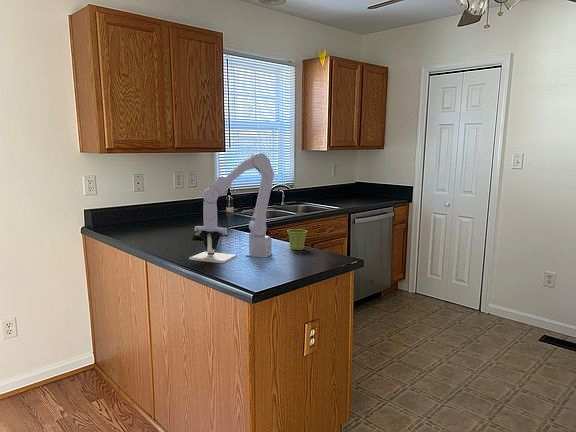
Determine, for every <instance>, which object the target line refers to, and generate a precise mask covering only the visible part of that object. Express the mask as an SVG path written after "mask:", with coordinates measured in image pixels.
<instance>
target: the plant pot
mask: <svg viewBox="0 0 576 432" xmlns="http://www.w3.org/2000/svg"><path fill="white" fill-rule="evenodd" d="M286 232H287V235H288V239H289V247H290V248H289V249H290V250H293V251H296V250H297V251H301V250H304V248H305V247H304V246H305V241H306V235H307V233H308V230H306V229H303V228H302V229H301V228H293V229H292V228H290V229H287V231H286Z"/></svg>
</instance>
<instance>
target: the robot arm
mask: <svg viewBox="0 0 576 432" xmlns="http://www.w3.org/2000/svg"><path fill="white" fill-rule="evenodd" d="M253 169H256V170H257V172H258V173H259V175H261V180H260V184H259V189H258V194H257V199H256V202H255V203H256V204H255V207H254V208H255V209H254V212H253V214H252V217H251V219H250V221H249V222H248V229H249V231H250V232H249V234H248V242H249V243H248V253H247V254H245V256H246V257H253V258H254V257H255V258H263V259H266V258H268V257H270V256H271V255H273V253H272V247H273V245H272V244H273V242H272V237H271V235H270V236H269V235H267V234H266V232H267V231H268V230H267V228H268V227H267V224H266V223H267V210H268V205H269V201H270V198H271V196H270V195H271V191H272V186H273V181H274V177H275V172H274V169H273V167H272V165H271V160H270V158H269V157H268V155H266V154H265V153H263V152H255V153H252V154H251V155H250V156H248V157H246V158H245V159H244V160H242V162H240V163H239V164H238V165H237V166H236V167H235V168H234V169H233V170H232V171H231V172H230V173H228V174H227V175H221V176H218V177H217V180H216V181H215V182H213V183H212V184H209V185H208V187H207V188H206V189H204V190H203V192H202V198H203V202H202V203H203V206H202V207H203V209H202V210H203V211H202V212H203V214H202V215H203V225H196V226H194V232H200V231H201V233H200V236H201V237H202V239H203V240H202V241H203V244H204V247H205V248H204V249H206V250H208V249H207V234H210V233H211V232H213V233H211V234H210V235H211V238H212V249H213V250H214V251H215V250H217V247H218V243H219V241H220V238H221V237H222V236H221V233H224V234H225V233H228V228H227V227H220V226H218V206H217V201H218V199H219V197H221V196H222V195H224V193H225V192H226V191H228V189H230V188H231V187H232V185H233V182H234V181H235V180H236V179H238V177H240V176H241V175H242V174H243V173H245V172H246V171H248V170H253Z"/></svg>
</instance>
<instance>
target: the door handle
mask: <svg viewBox="0 0 576 432" xmlns="http://www.w3.org/2000/svg"><path fill="white" fill-rule="evenodd" d="M200 233H201V231H197V232H196V233H193V234H192V239H193V240H198V241H199V240H201V241H203V239H202V237H201V236H200ZM211 233H213V232H211ZM211 233H210V234H211ZM220 237H229V233H228V232H227V233H225V234H224V233H221V236H220Z"/></svg>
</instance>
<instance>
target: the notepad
mask: <svg viewBox="0 0 576 432" xmlns="http://www.w3.org/2000/svg"><path fill="white" fill-rule="evenodd" d="M236 257H238V255H237V254H233V253H231V254H230V253H222V252H214V255H208V251H203V252H199V253H198V254H194V255H192V256H189V257H188V260H189V261H198V262H207V263H209V262H210V263H216V264H225V263H227V262H229V261H231V260H234V259H235V258H236Z"/></svg>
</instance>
